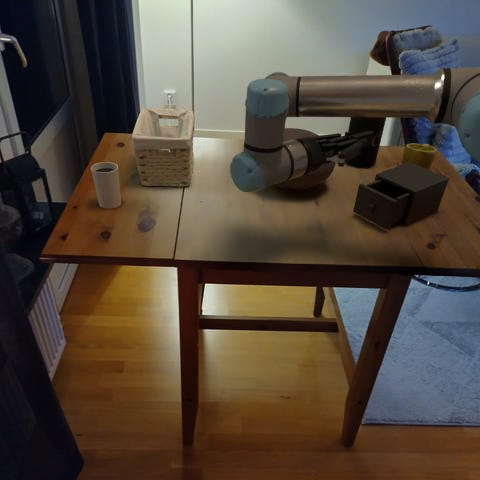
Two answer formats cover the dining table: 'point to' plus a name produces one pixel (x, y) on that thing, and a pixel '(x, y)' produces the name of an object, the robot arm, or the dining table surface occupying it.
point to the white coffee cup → (107, 184)
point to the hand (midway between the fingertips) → (370, 137)
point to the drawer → (382, 203)
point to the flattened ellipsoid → (311, 178)
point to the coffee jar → (371, 151)
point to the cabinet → (417, 189)
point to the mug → (419, 155)
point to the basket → (164, 147)
